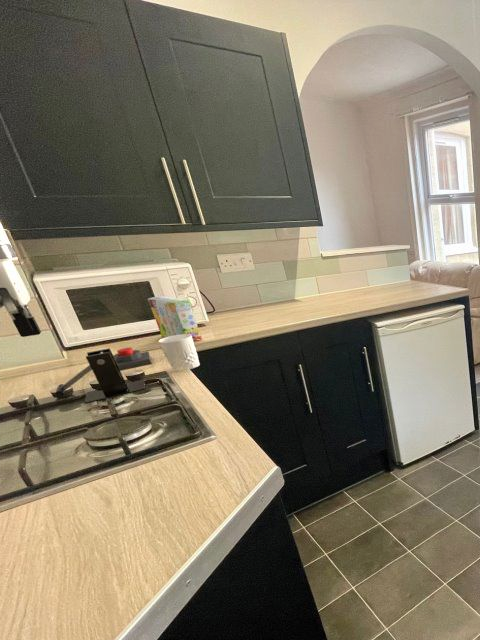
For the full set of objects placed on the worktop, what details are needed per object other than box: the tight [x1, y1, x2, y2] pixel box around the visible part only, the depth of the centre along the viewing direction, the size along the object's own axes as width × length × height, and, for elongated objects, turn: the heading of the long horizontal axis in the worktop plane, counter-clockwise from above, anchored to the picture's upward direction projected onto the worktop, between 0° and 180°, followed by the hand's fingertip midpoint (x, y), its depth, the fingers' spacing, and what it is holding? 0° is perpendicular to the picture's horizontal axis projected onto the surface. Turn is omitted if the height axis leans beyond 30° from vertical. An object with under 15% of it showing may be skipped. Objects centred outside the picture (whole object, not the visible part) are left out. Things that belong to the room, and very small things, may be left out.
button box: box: [113, 349, 153, 372], centre depth 131 cm, size 10×10×4 cm
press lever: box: [54, 351, 103, 397], centre depth 106 cm, size 13×6×2 cm
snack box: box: [147, 295, 203, 343], centre depth 155 cm, size 21×6×15 cm, turn 59°
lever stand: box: [84, 347, 147, 405], centre depth 109 cm, size 12×9×12 cm
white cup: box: [157, 334, 201, 372], centre depth 124 cm, size 8×8×10 cm
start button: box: [117, 347, 134, 356], centre depth 130 cm, size 4×4×2 cm
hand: (31, 334), depth 99 cm, fingers closed
